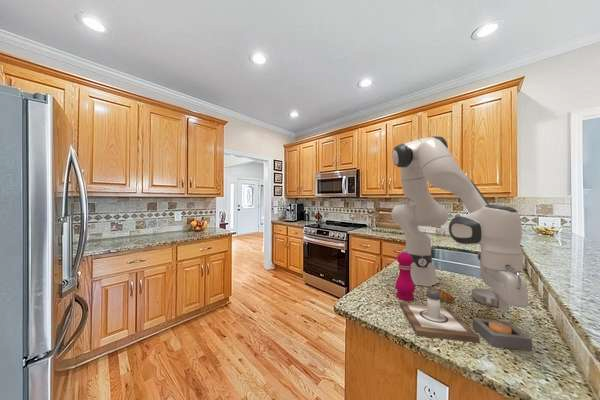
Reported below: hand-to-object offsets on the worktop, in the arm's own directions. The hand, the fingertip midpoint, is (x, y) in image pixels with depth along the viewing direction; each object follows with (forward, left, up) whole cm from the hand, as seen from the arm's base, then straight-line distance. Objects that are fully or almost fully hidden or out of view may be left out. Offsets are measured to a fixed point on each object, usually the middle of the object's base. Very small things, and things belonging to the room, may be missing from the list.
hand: (501, 308), depth 62 cm
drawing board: (-5, -16, -8) cm, 19 cm away
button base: (+1, -1, -8) cm, 8 cm away
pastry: (-26, -7, -9) cm, 28 cm away
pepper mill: (-23, -20, -8) cm, 32 cm away
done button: (+1, -1, -7) cm, 7 cm away
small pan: (-23, +10, -9) cm, 27 cm away
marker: (-5, -16, -6) cm, 18 cm away
